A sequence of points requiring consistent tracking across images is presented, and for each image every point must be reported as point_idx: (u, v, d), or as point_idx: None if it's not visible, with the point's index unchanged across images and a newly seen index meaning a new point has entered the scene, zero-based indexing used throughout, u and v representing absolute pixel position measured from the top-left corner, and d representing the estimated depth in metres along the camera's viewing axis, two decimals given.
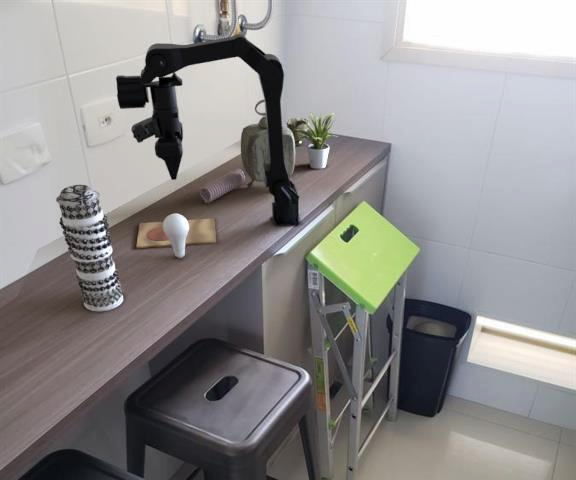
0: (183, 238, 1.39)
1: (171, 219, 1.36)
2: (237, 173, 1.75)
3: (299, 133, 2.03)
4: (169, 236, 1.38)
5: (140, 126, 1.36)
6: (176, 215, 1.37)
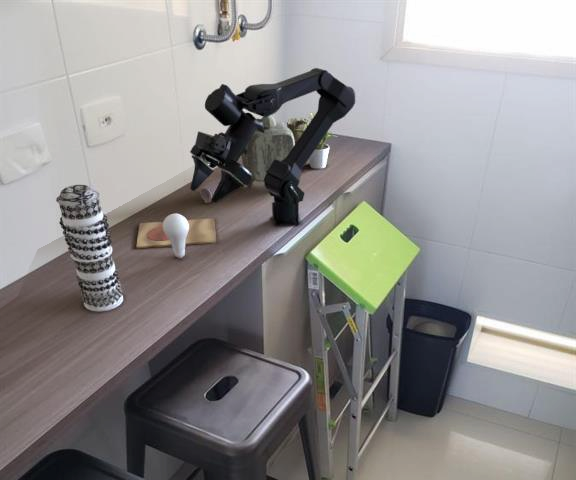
0: (183, 238, 1.39)
1: (171, 219, 1.36)
2: None
3: (299, 133, 2.03)
4: (169, 236, 1.38)
5: (223, 138, 1.31)
6: (176, 215, 1.37)
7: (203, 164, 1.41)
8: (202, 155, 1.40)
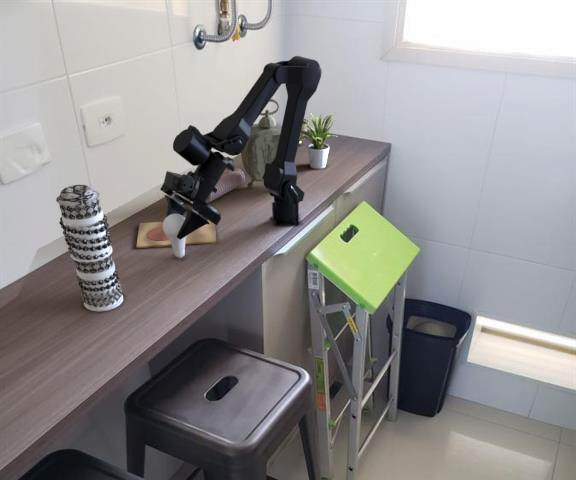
0: (183, 238, 1.39)
1: (171, 219, 1.36)
2: (237, 173, 1.75)
3: None
4: (169, 236, 1.38)
5: (191, 179, 1.30)
6: (176, 215, 1.37)
7: (176, 203, 1.40)
8: (175, 195, 1.39)
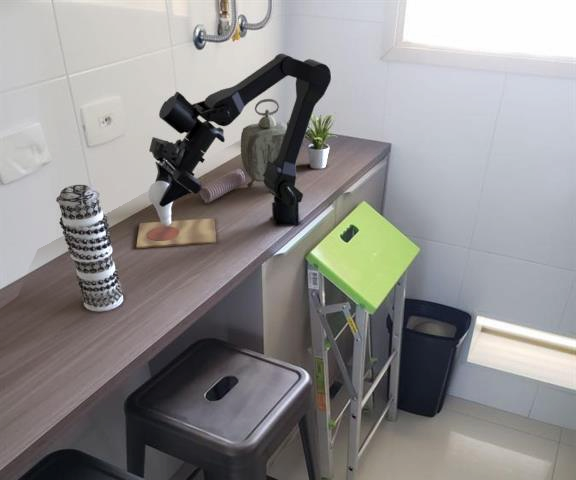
0: (168, 206, 1.40)
1: (154, 186, 1.37)
2: (237, 173, 1.76)
3: None
4: (153, 203, 1.39)
5: (173, 146, 1.30)
6: (161, 182, 1.38)
7: (165, 171, 1.41)
8: (165, 162, 1.40)
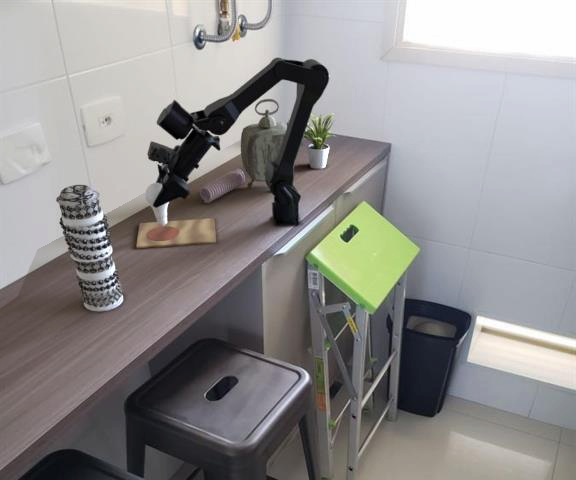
0: (162, 207, 1.47)
1: (150, 187, 1.44)
2: (237, 173, 1.76)
3: None
4: (148, 203, 1.46)
5: (165, 151, 1.37)
6: (157, 184, 1.45)
7: (165, 174, 1.48)
8: (165, 165, 1.47)
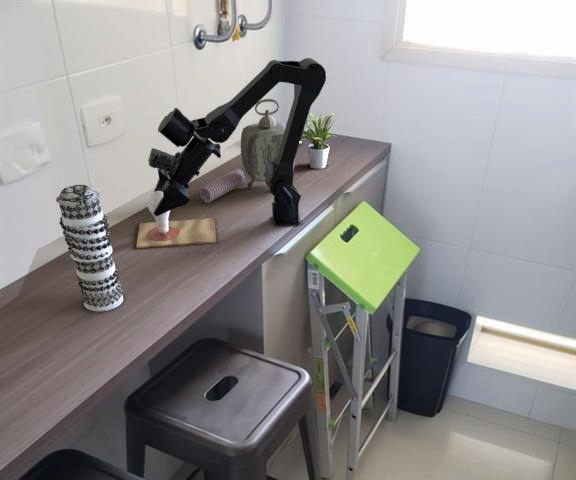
0: (163, 215, 1.48)
1: (152, 195, 1.46)
2: (237, 173, 1.76)
3: None
4: (150, 211, 1.48)
5: (166, 158, 1.38)
6: (158, 193, 1.46)
7: (165, 178, 1.50)
8: (165, 170, 1.49)
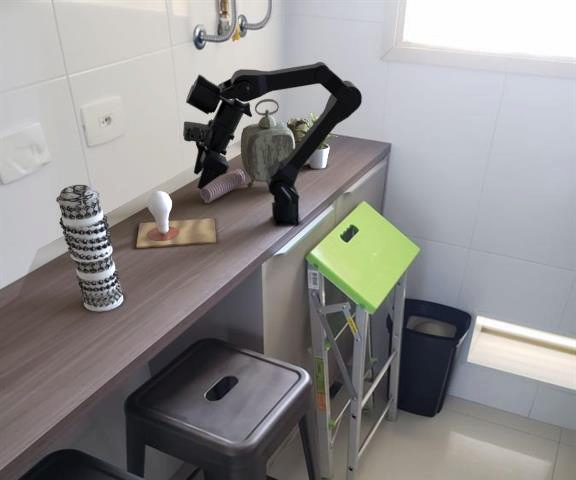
0: (163, 215, 1.48)
1: (152, 195, 1.46)
2: (237, 173, 1.76)
3: (299, 133, 2.03)
4: (150, 211, 1.48)
5: (198, 129, 1.37)
6: (158, 193, 1.46)
7: (204, 149, 1.50)
8: None
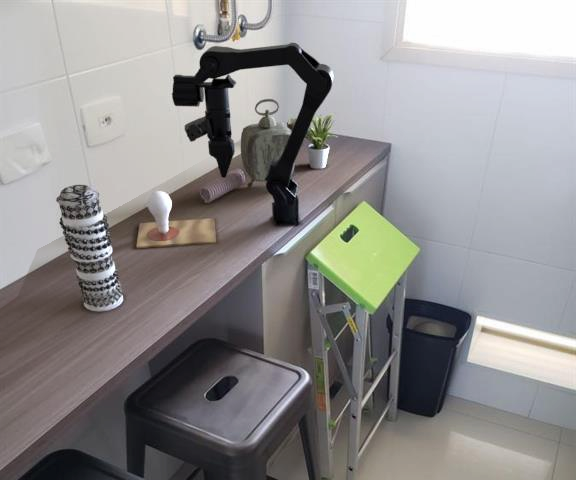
0: (163, 215, 1.48)
1: (152, 195, 1.46)
2: (237, 173, 1.76)
3: None
4: (150, 211, 1.48)
5: (194, 125, 1.41)
6: (158, 193, 1.46)
7: None
8: None
